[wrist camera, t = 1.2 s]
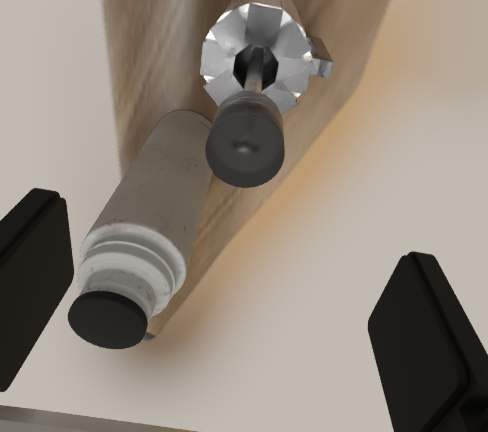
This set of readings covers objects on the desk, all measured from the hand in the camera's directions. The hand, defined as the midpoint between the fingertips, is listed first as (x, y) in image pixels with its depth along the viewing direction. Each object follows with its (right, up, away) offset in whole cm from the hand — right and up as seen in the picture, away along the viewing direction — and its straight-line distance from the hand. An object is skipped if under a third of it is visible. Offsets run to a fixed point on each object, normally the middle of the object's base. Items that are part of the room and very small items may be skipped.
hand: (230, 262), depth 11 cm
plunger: (+1, +14, +19) cm, 24 cm away
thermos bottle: (-7, +10, +36) cm, 38 cm away
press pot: (+2, +20, +28) cm, 35 cm away
